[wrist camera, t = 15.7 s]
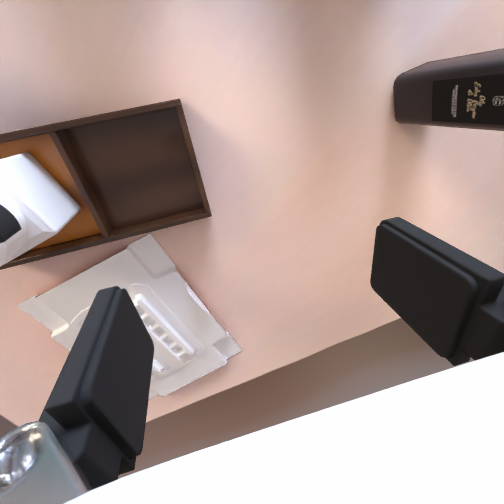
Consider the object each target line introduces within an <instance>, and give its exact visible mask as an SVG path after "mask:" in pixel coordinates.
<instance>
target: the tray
mask: <svg viewBox="0 0 504 504" xmlns="http://www.w3.org/2000/svg"><path fill="white" fill-rule="evenodd" d="M113 286H119V287H120V289H123V288H124V289H126V290H127V292H128V294H129V296H130V298H131V300H132V301H133V303H134V305H135V307H136V309H137V311H138V313H139V315H140V317H141V319H142V321H143V323H144V325H145V327H146V329H147V331H148V333H149V335H150V337H151V338H152V341H153V344H154V357H153V365H152V374H151V382H150V390H149V398H148V400H149V399H151V398H153V397H155V396H157V395H161V396H162V397H164V396H166V395H168V394H170V393H172V392H173V391H175V390H177V389H179V388H181V387H183V386H185V385H187V384H189V383H191V382H193V381H195V380H197V379H198V378H200V377H202V376H204V375H206V374H208V373H210V372H212V371H214V370H216V369H218V368H220V367H221V366H223V365H225V364H227V359H228V358H230V357H232V356H233V355H235V354H237V353H239V352H241V351H242V350H241V348H240V347H239V346H238V345H237V343H236V342H235V341H234V339H233V338H232V337H231V336H230V334H229V333H226V332H225V331H224V330H223V328H222V327H221V326H220V325H219V323H218V322H217V321H216V320H215V318H214V317H213V316H212V314H211V313H210V312H209V311H208V309H207V308H206V307H205V306H204V304H203V303H202V302H201V301H200V299H199V298H198V297H197V296H196V294H195V293H194V292H193V290H192V289H191V288H190V287H189V285H188V284H187V283H186V282H185V281H184V279H183V278H182V277H181V275H180V274H179V273H178V272H177V270H176V266H175V264H174V263H173V262H172V260H171V259H170V258H169V256H168V255H167V254H166V253H165V251H164V250H163V249H162V248H161V246H160V245H159V244H158V242H157V241H156V240H155V239H154V237H153V236H152V235H151V234H148V235H146V236H144V237H142V238H140V239H138V240H137V241H135V242H133V243H131V244H129V245H128V247H127V248H126V249H125V250H123V251H121V252H119V253H118V254H116V255H114V256H112V257H110V258H108V259H106V260H104V261H102V262H101V263H99V264H97V265H95V266H93V267H91V268H89V269H88V270H86V271H84V272H83V273H80V274H79V275H76V276H75V277H73V278H71V279H69V280H67V281H66V282H64V283H62V284H60V285H58V286H56V287H54V288H53V289H51V290H49V291H47V292H45V293H43V294H41V295H40V296H38V295H35V296H33V297H31V298H29V299H27V300H25V301H24V302H22V303H20V304H18V305H17V306H18V307H19V308H21V309H22V310H23V311H25V312H26V313H27V314H29V315H30V316H32V317H33V318H34V319H36V320H37V321H38V322H40V323H41V324H42V325H44V326H45V327H47V328H48V329H49V330H51V331H52V335H51V338H52V339H53V340H55V341H56V342H58V343H59V344H60V345H62V346H63V347H65V348H66V349H67V350H69V351H71V348H72V346H73V344H74V342H75V340H76V338H77V336H78V333H79V331H80V329H81V327H82V325H83V322H84V320H85V318H86V316H87V314H88V311H89V309H90V307H91V305H92V303H93V300H94V298H95V296H96V294H97V292H98V290H101V289H105V288H109V287H113ZM169 368H170V369H169ZM160 369H161V370H160Z"/></svg>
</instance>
